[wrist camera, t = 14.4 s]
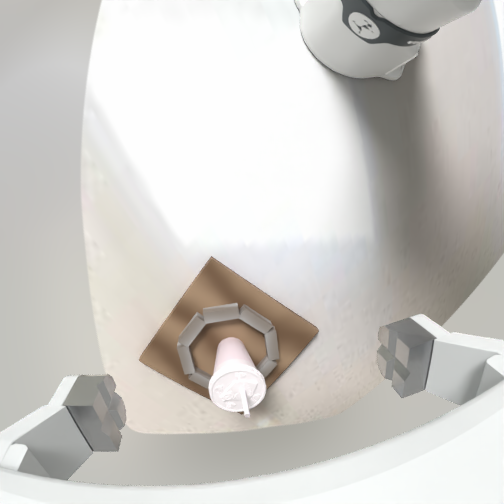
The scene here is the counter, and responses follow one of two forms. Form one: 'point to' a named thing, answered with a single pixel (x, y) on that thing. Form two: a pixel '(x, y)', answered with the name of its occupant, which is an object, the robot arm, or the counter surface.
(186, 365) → the socket
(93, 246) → the counter surface
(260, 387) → the smoothie
